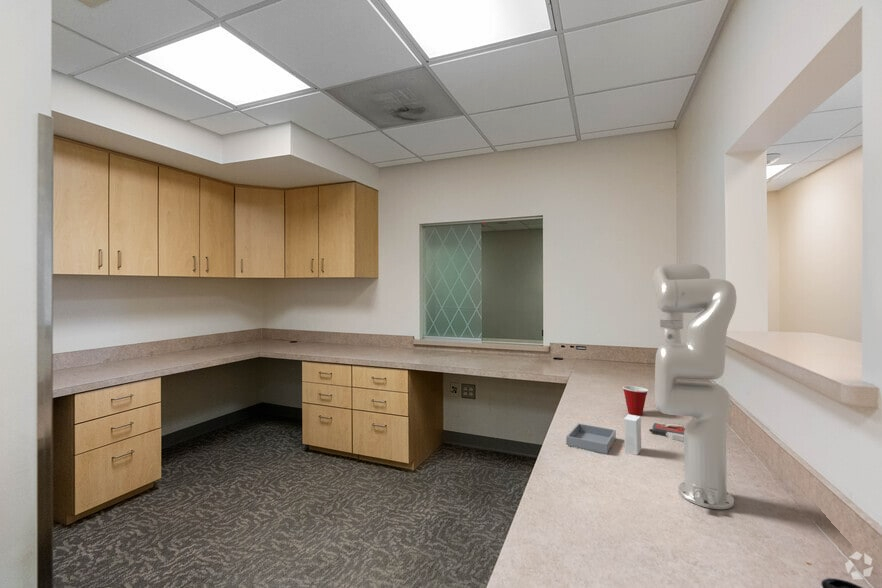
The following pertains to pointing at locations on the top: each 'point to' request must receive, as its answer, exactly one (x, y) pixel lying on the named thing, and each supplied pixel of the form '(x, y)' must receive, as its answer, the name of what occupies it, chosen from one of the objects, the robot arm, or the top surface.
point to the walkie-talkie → (669, 431)
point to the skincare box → (632, 434)
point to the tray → (591, 438)
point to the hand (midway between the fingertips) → (672, 369)
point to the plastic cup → (635, 399)
